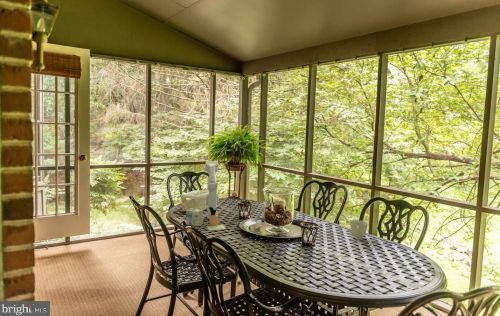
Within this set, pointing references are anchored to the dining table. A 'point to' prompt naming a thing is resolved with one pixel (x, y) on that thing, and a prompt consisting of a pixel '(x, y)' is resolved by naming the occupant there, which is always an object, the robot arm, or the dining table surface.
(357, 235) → the teacup
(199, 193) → the storage basket
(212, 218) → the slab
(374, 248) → the dining table surface
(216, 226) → the mat
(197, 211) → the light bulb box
